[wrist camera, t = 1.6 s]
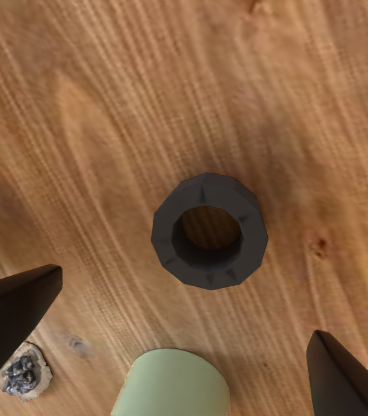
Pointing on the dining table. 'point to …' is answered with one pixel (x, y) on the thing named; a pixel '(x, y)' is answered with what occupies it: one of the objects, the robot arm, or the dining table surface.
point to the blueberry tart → (25, 373)
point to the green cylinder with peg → (172, 387)
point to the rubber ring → (201, 257)
